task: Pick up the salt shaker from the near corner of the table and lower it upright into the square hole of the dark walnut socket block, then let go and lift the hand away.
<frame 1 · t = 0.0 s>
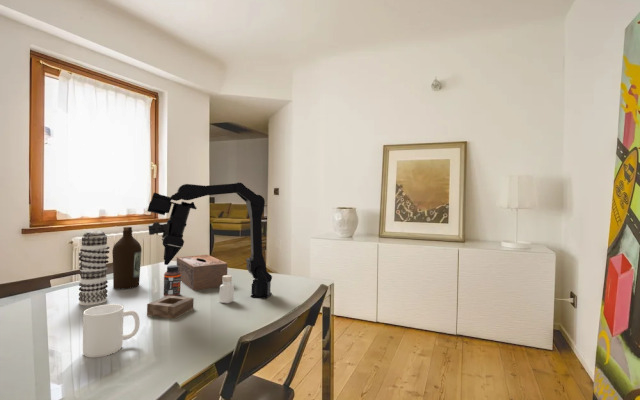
hand: (165, 262, 115), 15 cm above the table, tool pointing down, fingers open, 9 cm apart
salt shaker: (226, 302, 122), on the table
decorative candle: (93, 302, 119), on the table
olive oil: (126, 286, 139), on the table
socket block: (170, 312, 110), on the table
supplement bottle: (172, 295, 128), on the table
tissue box cover: (200, 282, 150), on the table
cup: (111, 349, 83), on the table
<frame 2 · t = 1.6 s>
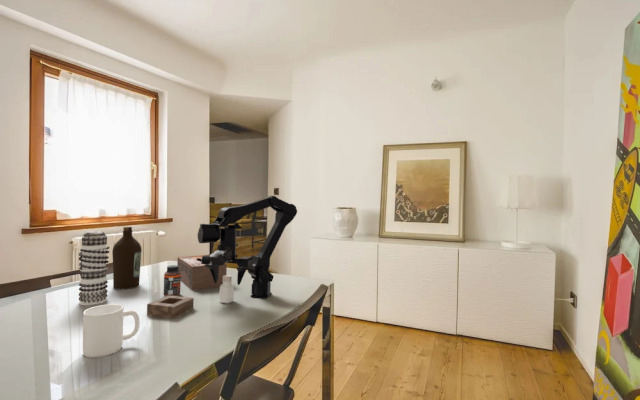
hand: (227, 283, 122), 7 cm above the table, tool pointing down, fingers open, 9 cm apart
nothing on the table moved.
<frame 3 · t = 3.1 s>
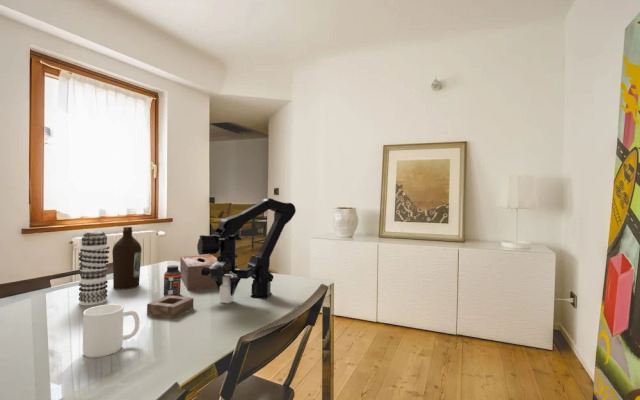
hand: (226, 295, 122), 3 cm above the table, tool pointing down, fingers closed on salt shaker, 4 cm apart
salt shaker: (226, 302, 122), on the table, touching gripper
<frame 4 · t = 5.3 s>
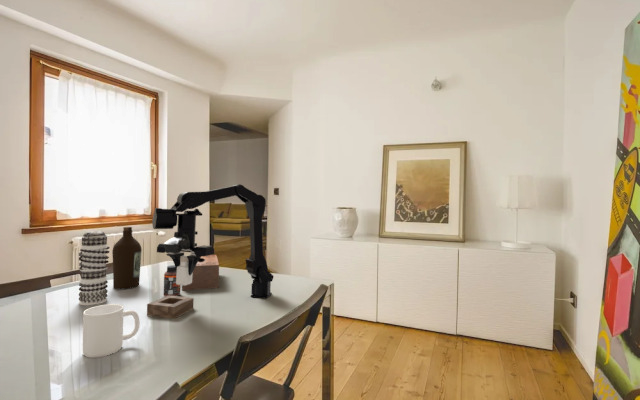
hand: (184, 274, 113), 12 cm above the table, tool pointing down, fingers closed on salt shaker, 4 cm apart
salt shaker: (184, 284, 112), point 8 cm above the table, touching gripper
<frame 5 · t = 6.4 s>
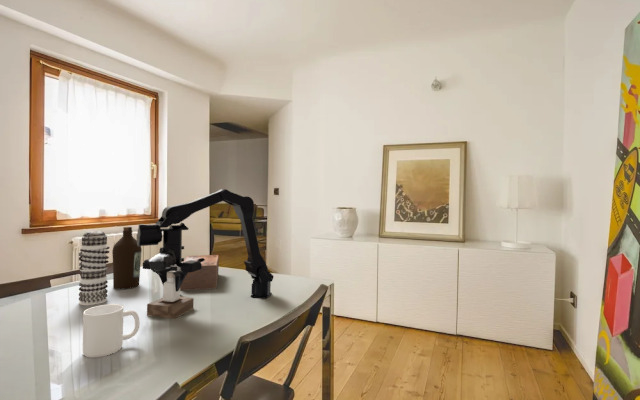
hand: (171, 290, 110), 7 cm above the table, tool pointing down, fingers closed on salt shaker, 4 cm apart
salt shaker: (171, 301, 110), point 4 cm above the table, touching gripper
when the fingers open (5 cm above the table, at t = 7.5 s): salt shaker drops 1 cm, resting on socket block.
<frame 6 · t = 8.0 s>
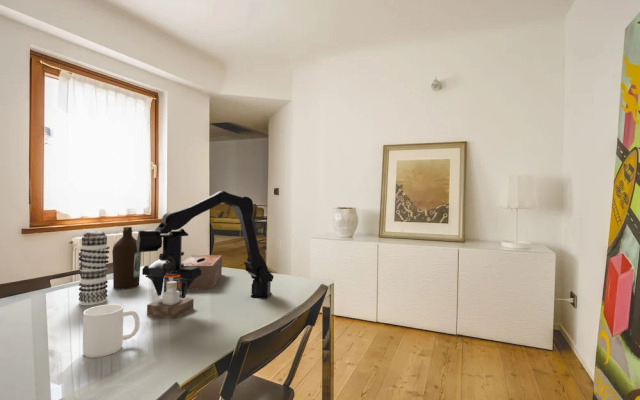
hand: (171, 296, 110), 5 cm above the table, tool pointing down, fingers open, 9 cm apart
salt shaker: (171, 311, 110), resting on socket block
socket block: (170, 313, 110), on the table, touching salt shaker
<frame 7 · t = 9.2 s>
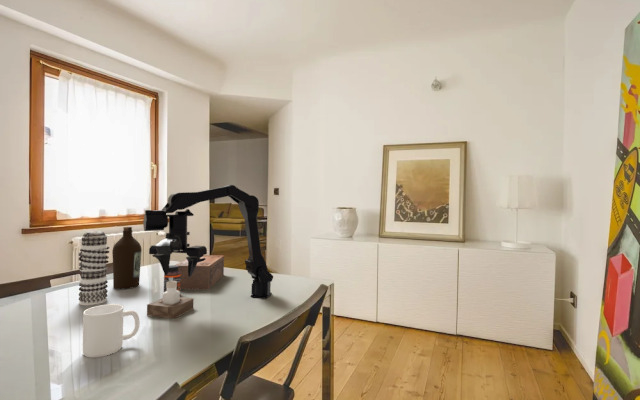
hand: (177, 275, 112), 12 cm above the table, tool pointing down, fingers open, 9 cm apart
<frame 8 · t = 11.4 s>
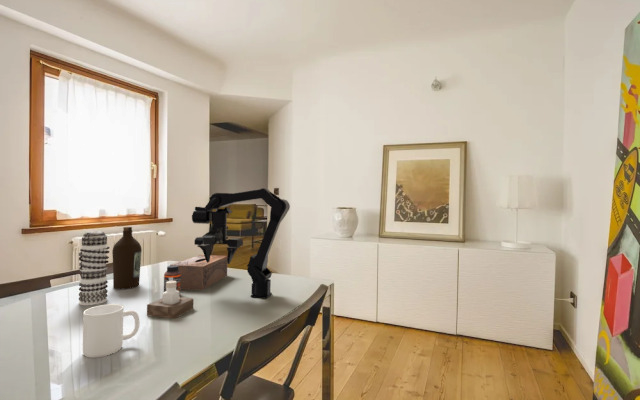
hand: (218, 263, 133), 12 cm above the table, tool pointing down, fingers open, 9 cm apart
at the end: salt shaker 0.1 cm off-centre on the socket block, point 0.8 cm above the socket block's base; salt shaker tilted 0°; the gripper is holding nothing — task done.
